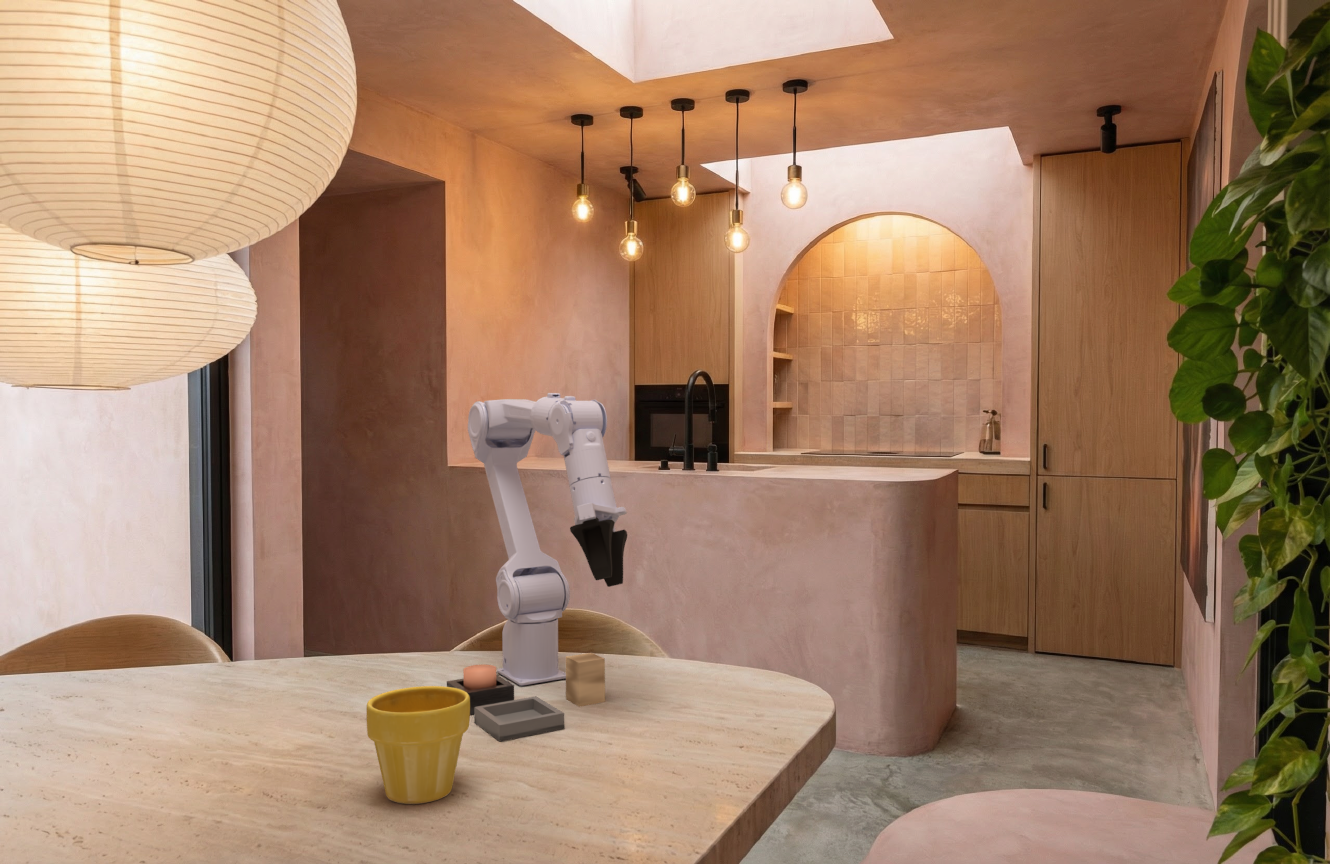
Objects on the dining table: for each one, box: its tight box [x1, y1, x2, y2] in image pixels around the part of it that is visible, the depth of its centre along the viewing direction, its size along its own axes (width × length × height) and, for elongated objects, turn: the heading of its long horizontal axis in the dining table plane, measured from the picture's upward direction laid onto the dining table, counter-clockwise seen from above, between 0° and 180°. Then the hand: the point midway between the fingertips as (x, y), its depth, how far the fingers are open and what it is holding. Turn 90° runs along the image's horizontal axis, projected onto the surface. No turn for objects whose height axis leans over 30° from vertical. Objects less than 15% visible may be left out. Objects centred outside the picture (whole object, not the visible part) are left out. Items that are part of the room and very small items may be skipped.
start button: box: [462, 663, 497, 690], centre depth 125 cm, size 4×4×3 cm
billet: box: [565, 652, 606, 708], centre depth 127 cm, size 4×4×6 cm
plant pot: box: [366, 685, 471, 805], centre depth 96 cm, size 10×10×10 cm
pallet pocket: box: [473, 695, 565, 742], centre depth 117 cm, size 9×9×2 cm
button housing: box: [446, 674, 515, 716], centre depth 125 cm, size 7×7×3 cm
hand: (609, 581), depth 121 cm, fingers open, 7 cm apart
